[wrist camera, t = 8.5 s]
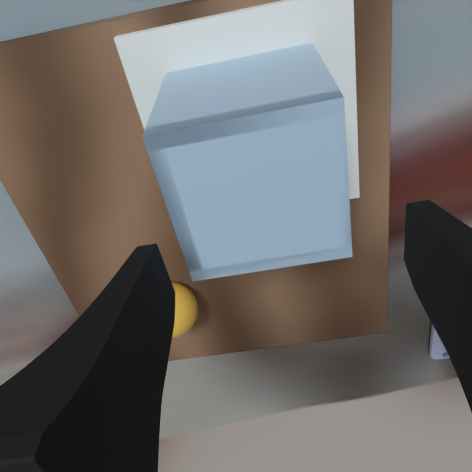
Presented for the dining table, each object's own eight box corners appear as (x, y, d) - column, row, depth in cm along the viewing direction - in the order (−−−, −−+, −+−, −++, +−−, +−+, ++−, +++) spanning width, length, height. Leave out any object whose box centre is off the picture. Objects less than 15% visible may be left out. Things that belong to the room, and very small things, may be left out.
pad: (350, -15, 16) (353, -13, 16) (357, 193, 22) (359, 197, 21) (115, 35, 17) (113, 38, 17) (177, 222, 23) (176, 227, 22)
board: (384, -42, 17) (392, -39, 16) (382, 320, 28) (386, 332, 28) (-56, 54, 19) (-69, 60, 18) (112, 356, 30) (109, 368, 30)
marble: (192, 267, 24) (187, 307, 22) (204, 305, 26) (202, 346, 24) (139, 275, 25) (129, 315, 22) (155, 312, 26) (147, 353, 24)
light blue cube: (312, 42, 17) (344, 97, 12) (324, 173, 21) (352, 256, 16) (166, 72, 18) (142, 136, 13) (201, 195, 21) (192, 281, 16)
